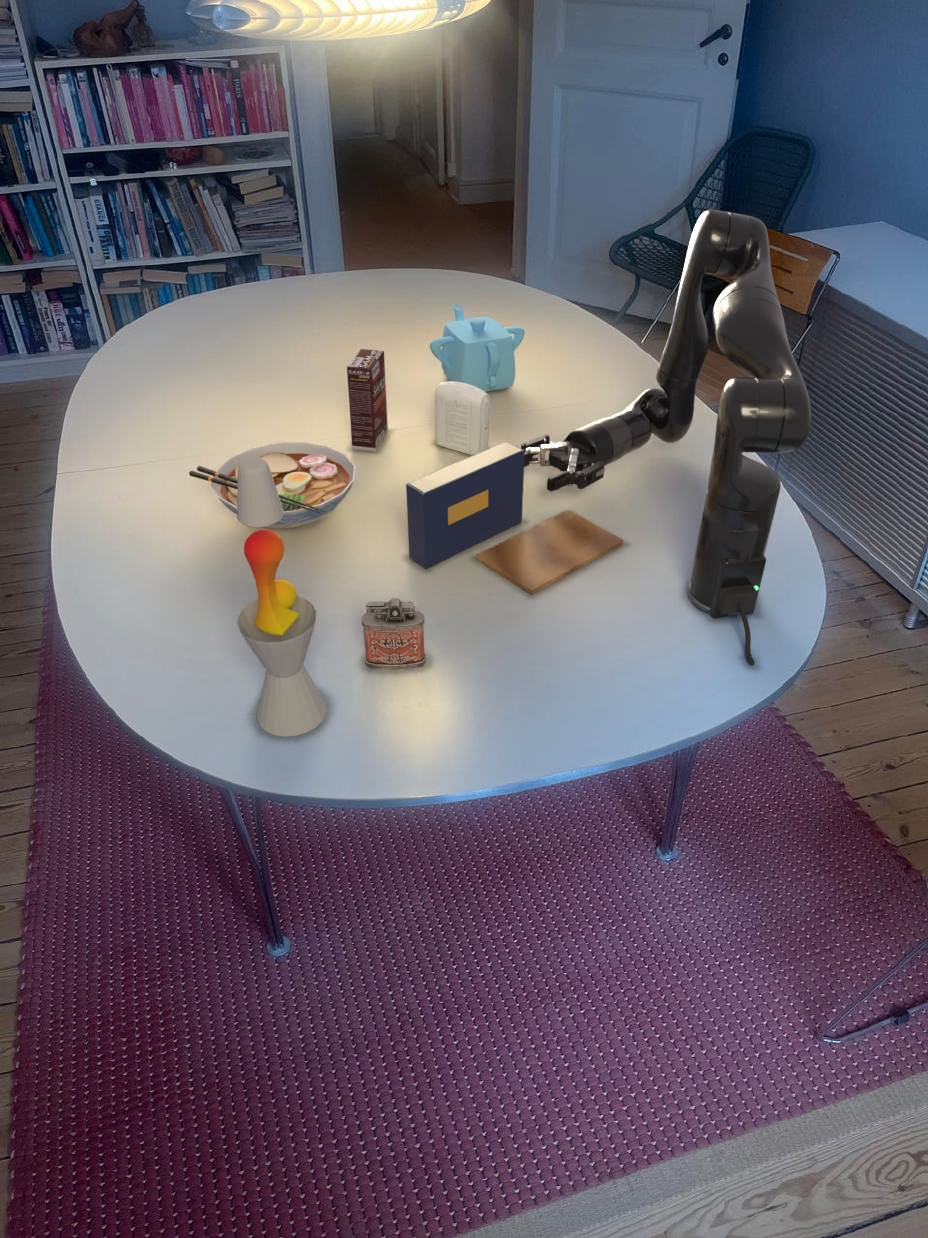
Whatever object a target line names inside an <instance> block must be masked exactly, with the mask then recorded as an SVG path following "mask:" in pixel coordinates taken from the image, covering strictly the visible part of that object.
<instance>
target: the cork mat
mask: <svg viewBox="0 0 928 1238" xmlns="http://www.w3.org/2000/svg"><path fill="white" fill-rule="evenodd" d="M623 545H624V539H622V538H620V537H619V536H617V535H615V534H613V533H611V532H609V531H607V530H606V529H605V528H602V527H601V526H598V525H597V524H595V523H593V522H591V521H590V520H588V519H586V518H584V517H582V516H580V515H579V514H577V513H575V512H573V511H571V510H570V509H567V510H565V511H562V512H560V513H558V514H557V515H555V516H552V517H551V518H549V519H546V520H544V521H542V522H541V523H539V524H537V525H534V526H532V527H530V528H529V529H527V530H525V531H523V532H520V533H519V534H516V535H514V536H513V537H510V538H508V539H506V540H505V541H503V542H500V543H498V544H497V545H494V546H492V547H490V548H488V549H486V550H484V551H482V552H480V553H478V554H476V560H477V561H478V562H480V563H482V565H485V566H486V567H487V568H489V569H490V570H492V571H494V572H496V573H497V574H499V575H500V576H502V577H503V578H505V579H506V580H508V581H509V582H511V583H512V584H514V585H516V586H517V587H519V588H520V589H521V590H523V591H524V592H527V593H528V594H530V595H533V594H535V593H537V592H539V591H540V590H542V589H544V588H546V587H548V586H550V585H552V584H553V583H555V582H557V581H559V580H561V579H562V578H565V577H566V576H567V575H569V574H571V573H572V574H573V572H575V571H577V570H579V569H581V568H582V567H585V566H587V565H589V564H590V563H592V562H594V561H595V560H598V558H601V557H604V555H606V554H608V553H610V552H611V551H614V550H615V549H617V548H619V547H621V546H623Z"/></svg>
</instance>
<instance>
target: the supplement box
mask: <svg viewBox="0 0 928 1238" xmlns="http://www.w3.org/2000/svg"><path fill="white" fill-rule="evenodd" d="M385 364H386V363H385V351H384V350H377V349H366V348H360V349H359V351H358V353H357V354H356V356H355V357H354V358H353V360H351V362H350V363H349V365H347V366H346V374H347V375H346V376H347V391H348V404H349V419H350V420H349V421H350V435H351V437H350V438H351V449H352V450H353V451H361V452H370V453H371V452H373V453H376V452H377V450H378V449H379V447H380V445H381V443H382V442H383V440H384V438H385V436H386V435H387V434H388V432H389V429H388V428H389V426H388V425H389V423H388V408H387V406H388V405H387V390H386V389H387V387H386V386H387V385H386V365H385Z"/></svg>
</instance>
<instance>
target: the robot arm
mask: <svg viewBox="0 0 928 1238" xmlns="http://www.w3.org/2000/svg"><path fill="white" fill-rule="evenodd" d="M770 250H771V249H770V241H769V235H768V229H767V226H766V225H765V223H764V222H763V220H761V219H759V218H757V217H755V216H753V215H752V216H751V215H747V214H741V213H736V212H731V211H725V210H720V209H711V208H710V209H707V210H705V211H703V212H702V213H701V215H700V216H699V217H698V219H697V221H696V223H695V225H694V227H693V231H692V233H691V235H690V240H689V243H688V246H687V251H686V256H685V260H684V265H683V270H682V274H681V278H680V283H679V287H678V290H677V296H676V302H675V307H674V312H673V316H672V321H671V325H670V330H669V333H668V336H667V340H666V343H665V345H664V347H663V351H662V353H661V357H660V359H659V360H660V361H659V363H658V366H657V369H656V373H655V380H656V382H657V384H658V386H659V387H660V388H661V389H659V388H649V389H645V390H644V391H643V392H642V393H640V395H638V396H637V398H635V399H634V401H632V402H631V403H630V404H629V405H628V406H627V407H626V408H625V409H623V410H622V411H619V412H617V413H615V414H612V415H610V416H607V417H603V418H600V419H597V420H595V421H592V422H590V423H588V424H586V425H583V426H581V427H578V428H576V429H573V430H572V431H571V432H569V433H568V434H567V435H566V437H565V438H564V439H563V440H561V441H555V442H553V441H552V440H551V435H550V434H542V435H539V436H537V437H535V438H532V439H529V440H526V441H523V442H521V443H520V448H521V449H523V450H525V455H524V468H525V467H528V466H530V465H539V466H540V467H552V468H555V469H557V470H559V471H560V472H558V473H556V474H554V475H552V476H549V477H548V478H547V481H546V490H547V491H548V492H554V491H558V490H560V489H563V488H564V487H566V486H568V487H572V486H574V485H575V486H576V488H577V489H578V490H583V489H585V488H587V487H589V486H591V485H593V484H594V483H596V482H598V481H600V480H601V479H603V478H604V475H605V466H607V465H610V464H612V463H614V462H617V461H618V460H620V459H621V458H623V457H624V456H626V455H628V454H630V453H632V452H634V451H636V450H638V449H640V448H642V447H644V446H645V445H646V444H647V443H648V442H649V441H650V439H651V437H652V435H654V436H656V438H658V439H659V440H661V441H662V442H664V443H667V444H675V443H676V442H679V441H681V440H682V439H683V438H684V437H685V436H686V435H687V433H688V432H689V430H690V428H691V426H692V422H693V419H694V412H695V402H696V401H695V400H696V391H697V390H696V389H697V381H698V379H699V376H700V374H701V371H702V368H703V366H704V363H705V360H706V358H707V355H708V351H709V342H710V341H709V331H708V327H707V322H706V319H705V315H704V313H703V312H704V311H703V307H702V301H701V286H702V281H703V277H704V275H709V276H716V277H720V278H721V277H722V278H727V279H730V280H732V281H731V282H730V283H729V284H727V285H726V286H725V287H724V289H723V290H722V291H721V292H720V294H719V295H718V297H717V299H716V301H715V303H714V306H713V308H712V322H713V328H714V333H715V335H714V336H715V340H716V344H717V347H718V349H719V352H720V353H721V354H722V355H723V357H724V358H725V359H726V360H727V361H728V362H729V363H730V364H731V365H732V366H733V367H734V368H735V369H737V370H738V371H740V372H741V373H743V374H744V375H745V376H741V377H740V376H738V377H737V376H736V377H732V378H730V379H729V380H727V382H726V383H725V385H724V386H723V389H722V391H721V394H720V397H719V398H720V399H719V403H718V409H717V417H716V426H715V436H714V444H713V450H712V455H711V461H710V469H709V476H708V482H707V488H706V493H705V499H704V504H703V509H702V515H701V520H700V526H699V532H698V536H697V542H696V548H695V553H694V559H693V565H692V569H691V570H692V571H691V577H690V580H689V584H688V589H687V597H688V599H689V601H690V602H691V604H692V605H694V607H696V608H697V609H699V610H701V611H702V612H705V613H707V614H709V615H710V616H711V618H712V619H723V618H729V617H730V618H731V617H739V616H740V617H741V621H742V625H743V630H744V651H745V652H744V653H745V657H746V660H747V662H748V664H749V665H750V666H753V665H755V664H756V662H755V659H754V657H753V655H752V651H751V645H752V644H751V642H752V640H751V639H752V635H751V628H750V623H749V619H748V615H753V614H755V610H756V605H757V601H758V597H759V594H760V590H761V585H762V580H763V577H764V572H765V567H766V563H767V557H766V556H765V555H766V551H767V547H768V541H769V538H770V534H771V530H772V526H773V521H774V517H775V512H776V508H777V504H778V500H779V496H780V492H781V487H782V486H781V479H780V477H779V475H778V474H777V473H776V472H775V471H774V470H773V469H772V468H771V467H769V466H767V465H765V464H764V463H762V462H759V461H756V460H754V459H752V458H749V457H748V456H745V455H744V454H743V453H755V454H787V453H792V452H795V451H797V450H799V449H801V448H802V447H803V446H804V444H806V442H807V440H808V437H809V436H810V433H811V428H812V406H811V404H812V403H811V399H810V393H809V390H808V387H807V385H806V383H805V380H804V377H803V375H802V373H801V370H800V368H799V366H798V363H797V362H796V359H795V357H794V355H793V351H792V349H791V345H790V342H789V337H788V333H787V328H786V323H785V318H784V314H783V310H782V306H781V302H780V299H779V296H778V294H777V290H776V286H775V281H774V277H773V272H772V265H771V264H772V263H771V262H772V261H771V253H770V252H771V251H770ZM548 451H549V452H548ZM547 452H548V459H546V453H547ZM537 455H539V456H538V457H535V456H537Z"/></svg>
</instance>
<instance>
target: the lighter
mask: <svg viewBox="0 0 928 1238" xmlns="http://www.w3.org/2000/svg"><path fill="white" fill-rule="evenodd" d="M360 620H361V626H362V627H363V637H364V638H363V639H364V651H365V655H364V665H365V666H366V668H367V669H371V670H377V671H378V670H379V671H404V670H405V671H406V670H413V669H419V668H422V667H424V666H425V665H426V662H427V656H426V653H425V638H424V637H425V636H424V635H425V633H424V624H425V615H424V613H423V612H422V611H419V610H415V602H414V601H412V600H407V601H406V600H404V601H402V600H401V599H400V598H397V597H393V598H391V599H390V600H389V601H385V600H381V601H380V600H379V601H378V600H376V601H375V600H374V601H373V600H371V601H367V602H366V603H365V612H364V613H363V614H362V615H361V618H360Z"/></svg>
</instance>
